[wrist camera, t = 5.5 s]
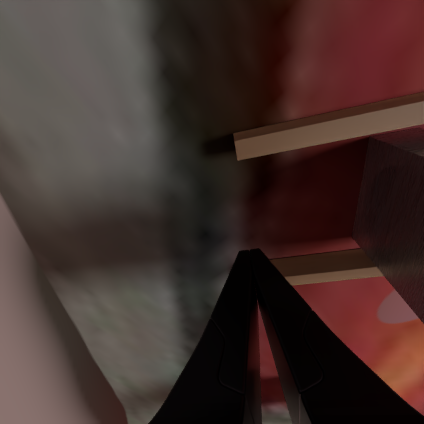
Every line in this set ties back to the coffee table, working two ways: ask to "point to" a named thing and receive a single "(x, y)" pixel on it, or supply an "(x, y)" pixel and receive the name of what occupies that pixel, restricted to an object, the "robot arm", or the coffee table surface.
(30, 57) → the coffee table surface
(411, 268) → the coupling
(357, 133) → the cradle rails
